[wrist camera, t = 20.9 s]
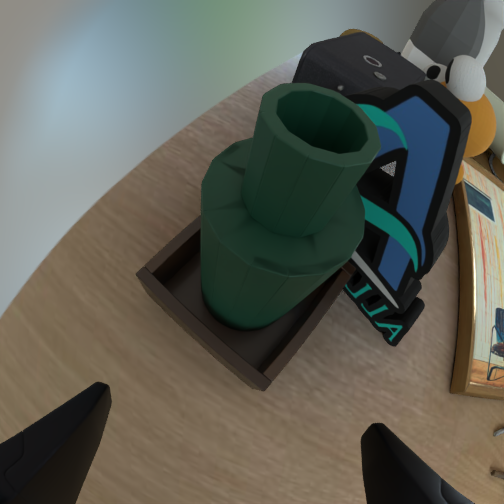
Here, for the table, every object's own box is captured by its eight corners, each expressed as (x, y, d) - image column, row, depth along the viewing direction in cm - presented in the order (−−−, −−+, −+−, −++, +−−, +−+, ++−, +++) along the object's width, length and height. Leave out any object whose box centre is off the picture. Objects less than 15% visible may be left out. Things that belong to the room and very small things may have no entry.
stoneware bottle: (304, 282, 20) (435, 139, 7) (253, 349, 18) (378, 273, 5) (238, 232, 21) (288, 47, 8) (182, 292, 18) (153, 112, 6)
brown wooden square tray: (252, 389, 17) (264, 391, 14) (146, 292, 19) (134, 273, 15) (334, 286, 21) (356, 268, 18) (238, 206, 22) (244, 177, 19)
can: (510, 165, 35) (470, 122, 41) (534, 131, 27) (490, 89, 33) (495, 162, 32) (450, 115, 38) (523, 121, 24) (471, 75, 30)
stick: (512, 474, 14) (514, 478, 14) (508, 478, 14) (509, 481, 14) (494, 468, 15) (496, 472, 14) (490, 472, 15) (491, 476, 14)
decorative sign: (407, 326, 21) (567, 248, 7) (391, 347, 20) (567, 280, 6) (256, 158, 25) (301, -3, 11) (234, 170, 24) (269, -4, 10)
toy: (375, 155, 29) (417, 43, 22) (428, 181, 32) (465, 84, 24) (427, 189, 21) (478, 48, 14) (476, 216, 24) (521, 101, 17)
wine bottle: (391, 127, 31) (497, -57, 4) (368, 89, 34) (448, -75, 7) (433, 137, 32) (536, -15, 5) (409, 101, 36) (491, -41, 9)
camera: (348, 209, 25) (403, 134, 30) (413, 127, 15) (448, 69, 19) (258, 141, 27) (333, 85, 32) (277, 42, 16) (361, 14, 21)
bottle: (406, 95, 36) (484, -43, 9) (409, 78, 40) (474, -40, 13) (451, 127, 36) (538, 1, 9) (449, 106, 39) (520, -4, 12)
